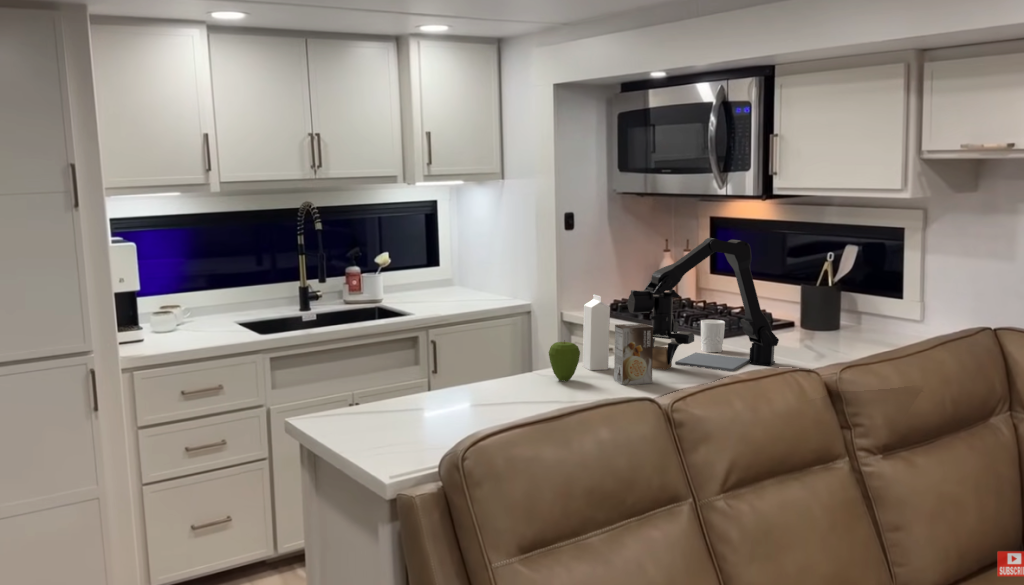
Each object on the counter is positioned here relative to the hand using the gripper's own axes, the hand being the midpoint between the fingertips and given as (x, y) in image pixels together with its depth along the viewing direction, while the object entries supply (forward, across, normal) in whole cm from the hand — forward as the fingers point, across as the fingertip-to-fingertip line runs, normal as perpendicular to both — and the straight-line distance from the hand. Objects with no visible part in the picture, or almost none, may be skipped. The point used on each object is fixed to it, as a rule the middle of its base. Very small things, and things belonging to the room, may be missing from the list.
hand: (660, 363), depth 264 cm
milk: (+1, +16, +12) cm, 20 cm away
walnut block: (+1, 0, 0) cm, 1 cm away
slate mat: (+1, -11, -16) cm, 19 cm away
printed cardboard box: (+2, -1, +23) cm, 23 cm away
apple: (+1, +16, +32) cm, 36 cm away
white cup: (+2, -4, -35) cm, 35 cm away
